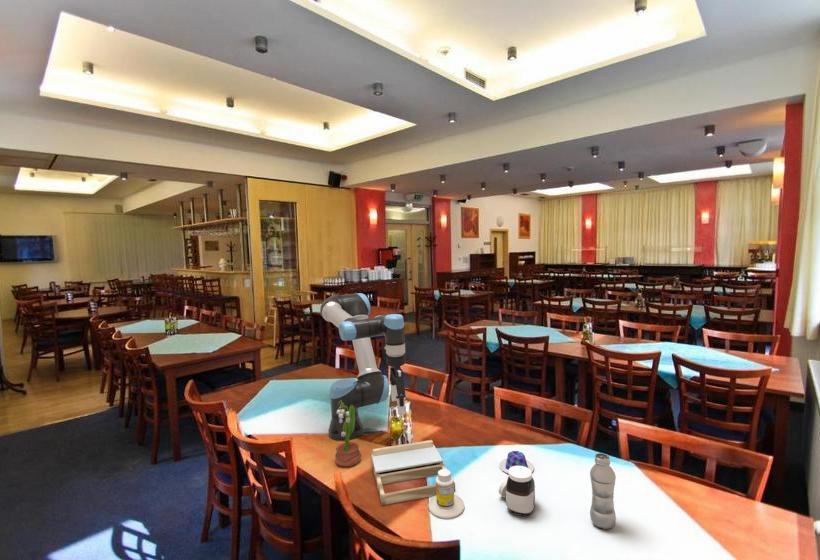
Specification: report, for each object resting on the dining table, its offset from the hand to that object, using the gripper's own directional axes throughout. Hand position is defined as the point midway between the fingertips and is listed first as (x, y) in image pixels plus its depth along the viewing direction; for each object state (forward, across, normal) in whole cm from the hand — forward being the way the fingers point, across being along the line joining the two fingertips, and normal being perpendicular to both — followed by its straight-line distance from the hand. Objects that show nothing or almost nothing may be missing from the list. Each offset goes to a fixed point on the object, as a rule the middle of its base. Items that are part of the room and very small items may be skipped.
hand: (398, 407), depth 158 cm
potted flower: (+19, +2, -21) cm, 28 cm away
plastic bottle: (+18, +58, +47) cm, 77 cm away
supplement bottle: (+17, +38, +7) cm, 42 cm away
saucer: (+18, +38, +7) cm, 43 cm away
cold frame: (+18, +19, 0) cm, 26 cm away
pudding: (+19, +24, +38) cm, 49 cm away
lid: (+15, +12, 0) cm, 19 cm away
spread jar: (+18, +43, +28) cm, 54 cm away
